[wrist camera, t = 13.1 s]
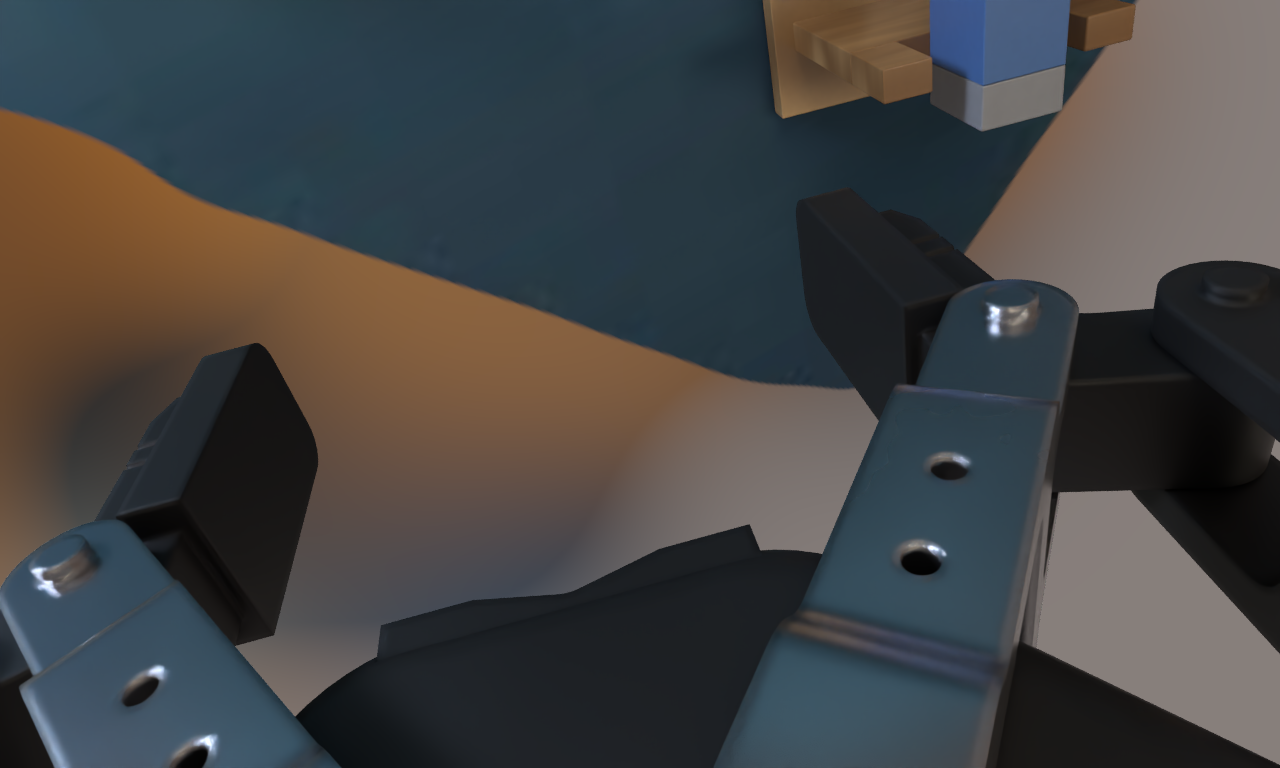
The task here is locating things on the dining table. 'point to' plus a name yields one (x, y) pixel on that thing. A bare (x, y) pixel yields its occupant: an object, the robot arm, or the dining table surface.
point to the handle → (998, 59)
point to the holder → (884, 47)
